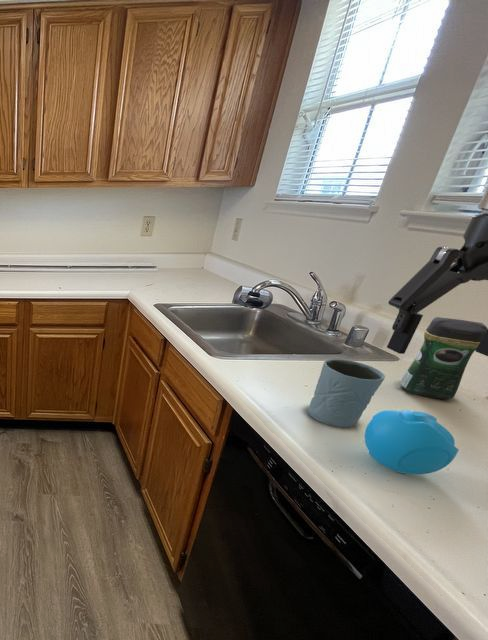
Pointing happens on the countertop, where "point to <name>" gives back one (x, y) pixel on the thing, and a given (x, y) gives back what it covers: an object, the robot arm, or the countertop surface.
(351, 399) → the grey embossed pot
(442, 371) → the coffee jar
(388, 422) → the blue rounded lump
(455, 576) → the countertop surface
